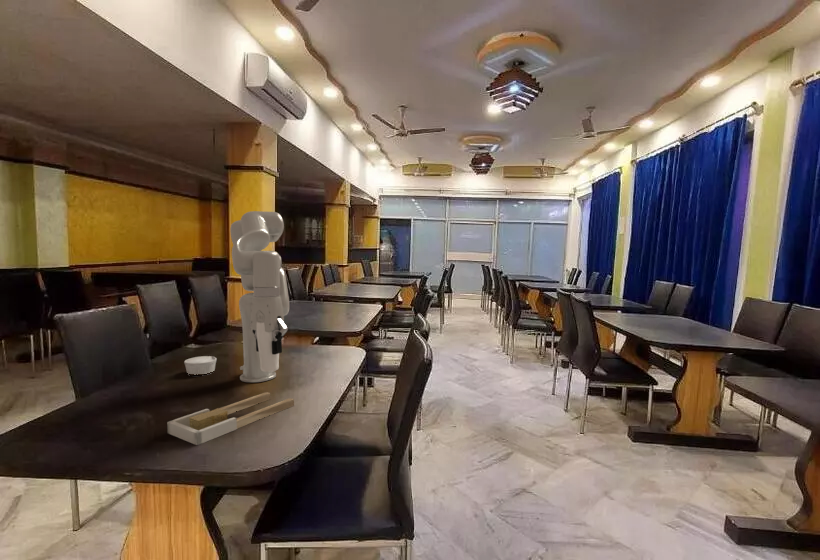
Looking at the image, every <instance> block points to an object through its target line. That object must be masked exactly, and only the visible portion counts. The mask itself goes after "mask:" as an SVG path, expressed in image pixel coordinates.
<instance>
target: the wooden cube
mask: <svg viewBox="0 0 820 560" xmlns="http://www.w3.org/2000/svg"><path fill="white" fill-rule="evenodd" d="M219 408H220V407H217V408H215V409H212V410H210V411H209V412H206V414H209V415H213V425H214V424H217V423H220V422H222V421H225V420H228V419H229V417H228V416H229V415H228V414H227V411H226V410H223V409H219Z"/></svg>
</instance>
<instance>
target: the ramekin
mask: <svg viewBox="0 0 820 560" xmlns="http://www.w3.org/2000/svg"><path fill="white" fill-rule="evenodd" d="M216 363H217V357H215V356H212V355H211V356H210V355H209V356H208V355H203V356H201V355H200V356H195V357H191V358H188V359H185V360H184V362H183V364H184V366H185V369H186V374H187V373H188V374H187V375H189V374H194V375H196V374H197V375H198V374H207V373H210V372H213V371H215V369H216V365H217V364H216ZM213 373H214V372H213ZM210 374H211V373H210ZM207 375H208V374H207Z"/></svg>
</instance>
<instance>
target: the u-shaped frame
mask: <svg viewBox="0 0 820 560" xmlns="http://www.w3.org/2000/svg"><path fill="white" fill-rule="evenodd" d="M209 411H211V410H210V408H205V409H202V410H199V411H195V412H193V413H191V414H187V415H184V416H181V417H178V418H175V419H173V420H169V421H167V422H166V424H167V427H166V428H167V434H168V435H171V436H173V437H176V438H178V439H181V440H183V441H186V442H188V443H191V444H193V445H195V446H199V445H202V444H204V443H207V442H209V441H212V440H213V439H216V438H218V437H222V436H224V435H225V434H226V435H227V434H228V433H231V432H233V431H236V430H237V429H238V428H237V421H236V418H237V417H231V418H228V420H225V421H222V422H220V423H217V424H214V425H212V426H209V427H206V428H204V429H201V430H196V429H193V428H190V420H189V418H190V417H193V416H196V415H199V414H201V413H206V412H209Z"/></svg>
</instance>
